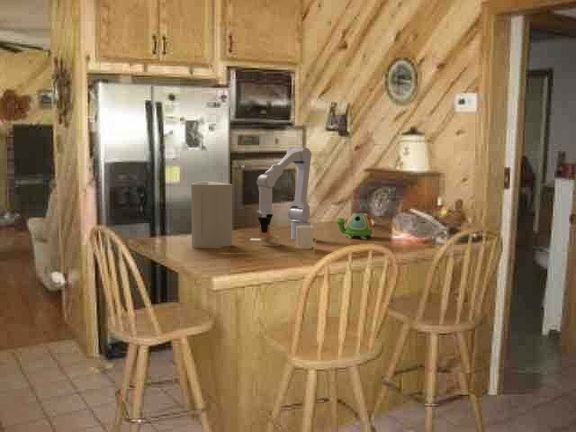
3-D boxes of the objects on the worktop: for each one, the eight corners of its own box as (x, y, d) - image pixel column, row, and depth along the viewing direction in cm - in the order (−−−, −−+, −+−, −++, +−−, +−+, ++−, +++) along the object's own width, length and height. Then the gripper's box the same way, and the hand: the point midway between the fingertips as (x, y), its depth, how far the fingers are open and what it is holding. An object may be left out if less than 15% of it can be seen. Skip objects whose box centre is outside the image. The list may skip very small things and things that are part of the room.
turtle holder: (339, 234, 305) (340, 211, 303) (375, 236, 299) (375, 213, 298) (333, 238, 293) (334, 214, 292) (370, 240, 288) (370, 216, 286)
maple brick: (279, 243, 272) (279, 236, 272) (278, 245, 267) (278, 237, 267) (261, 243, 273) (261, 235, 272) (260, 245, 268) (260, 237, 267)
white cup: (315, 250, 261) (315, 227, 259) (297, 250, 259) (297, 228, 258) (311, 247, 268) (311, 225, 267) (294, 247, 267) (294, 225, 266)
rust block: (270, 235, 272) (270, 225, 271) (269, 237, 267) (269, 226, 267) (260, 235, 272) (260, 224, 271) (259, 237, 268) (259, 226, 267)
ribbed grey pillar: (181, 244, 271) (181, 182, 268) (209, 240, 281) (209, 181, 277) (205, 250, 257) (204, 185, 253) (233, 246, 267) (233, 184, 263)
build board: (286, 240, 284) (286, 239, 284) (283, 247, 266) (283, 246, 266) (249, 239, 286) (249, 238, 286) (243, 246, 267) (243, 245, 267)
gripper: (258, 199, 275) (258, 228, 277) (254, 202, 261) (254, 233, 262) (274, 199, 274) (273, 229, 276) (270, 203, 260) (270, 234, 262)
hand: (265, 231), depth 269 cm, fingers open, 7 cm apart
